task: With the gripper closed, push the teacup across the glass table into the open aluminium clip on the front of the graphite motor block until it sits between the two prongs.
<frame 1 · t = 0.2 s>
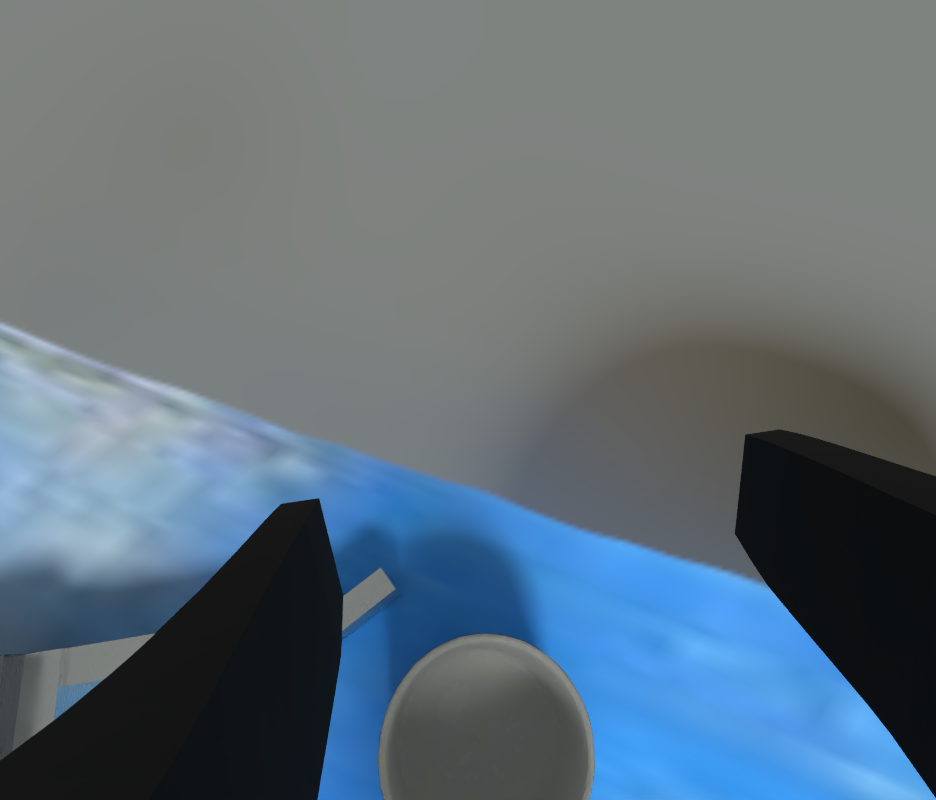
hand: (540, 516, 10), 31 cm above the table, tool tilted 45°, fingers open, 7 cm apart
teacup: (483, 757, 35), on the table
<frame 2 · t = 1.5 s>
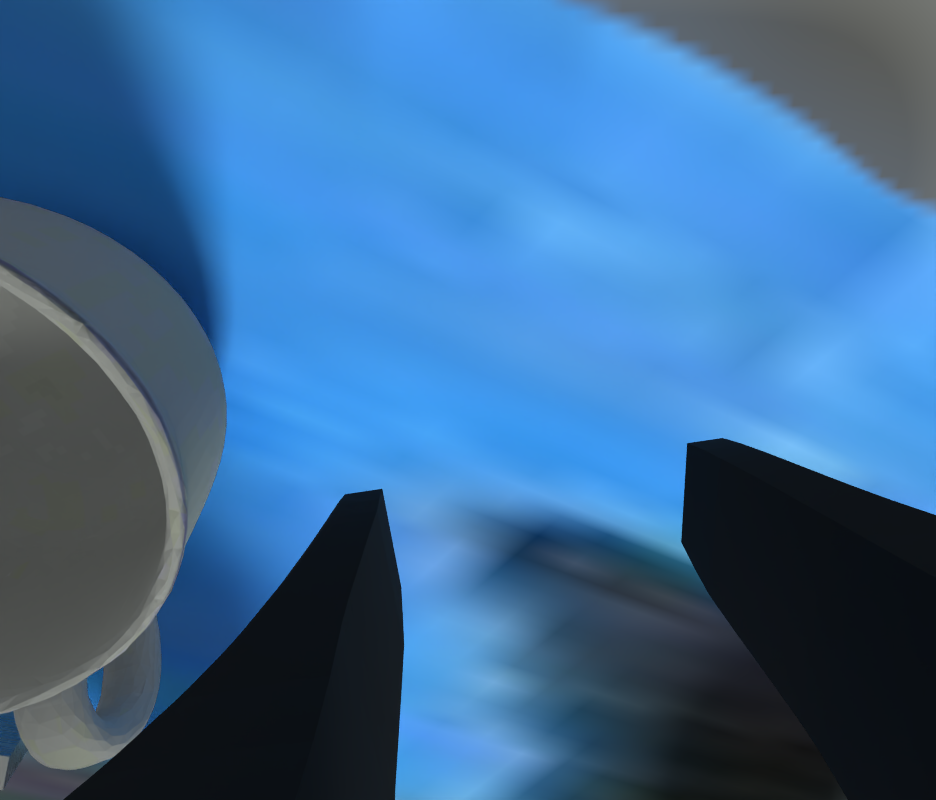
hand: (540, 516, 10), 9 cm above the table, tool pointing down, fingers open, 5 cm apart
teacup: (96, 409, 18), on the table
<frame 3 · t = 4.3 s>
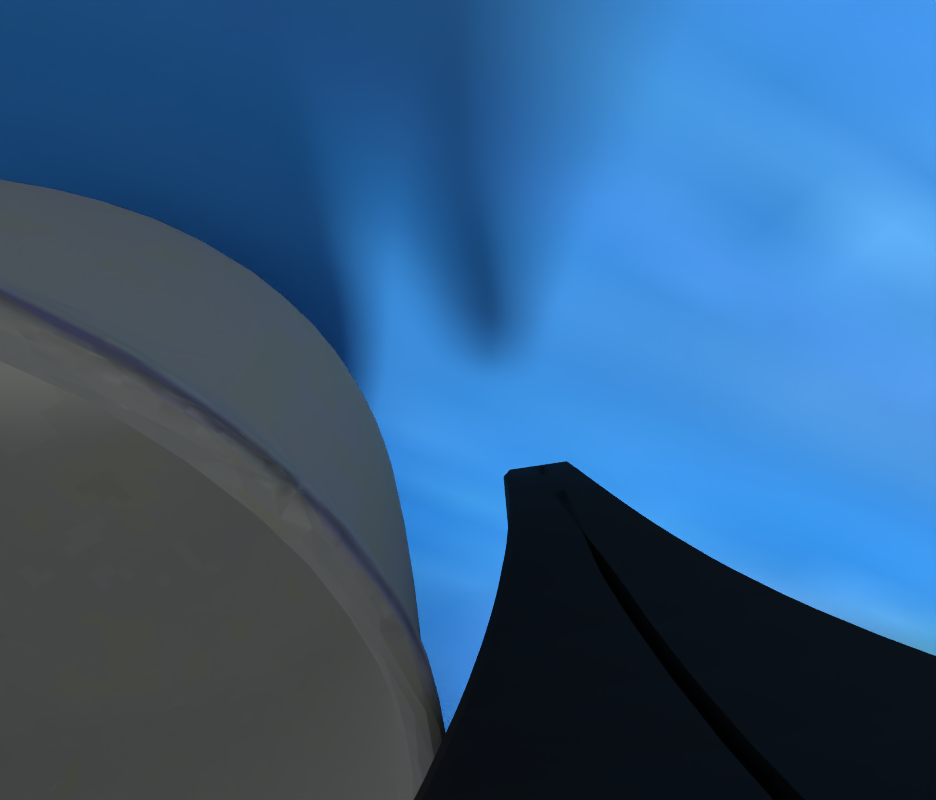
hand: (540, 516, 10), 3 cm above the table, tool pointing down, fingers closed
teacup: (173, 504, 12), on the table, touching gripper
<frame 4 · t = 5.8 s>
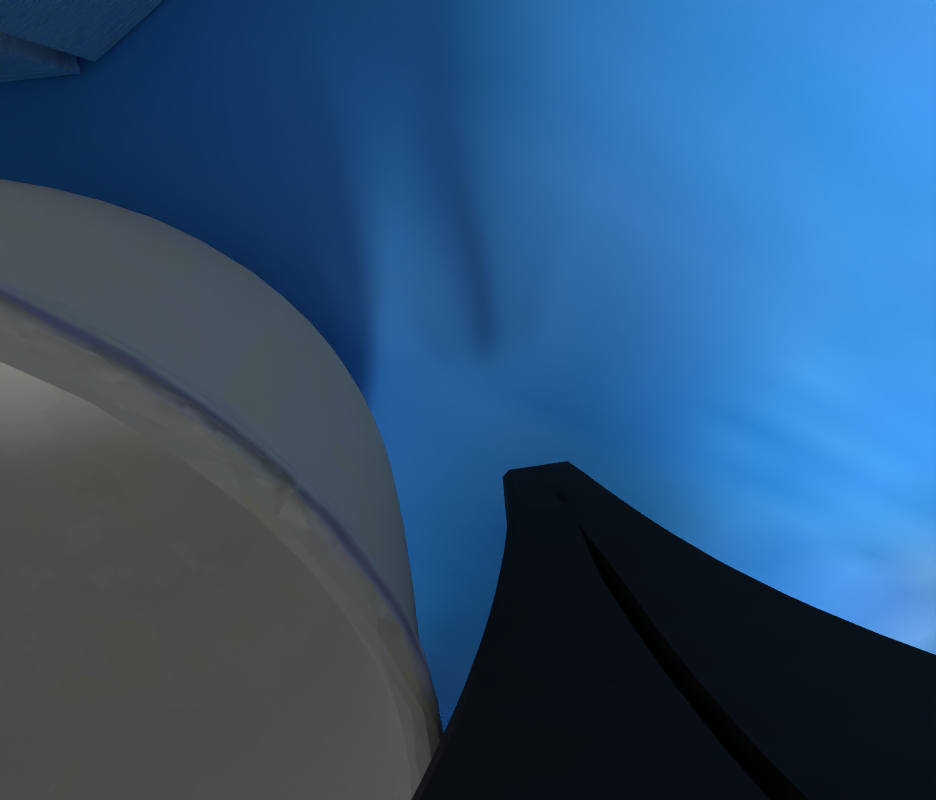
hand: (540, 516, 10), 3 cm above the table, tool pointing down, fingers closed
teacup: (172, 504, 12), on the table, touching gripper
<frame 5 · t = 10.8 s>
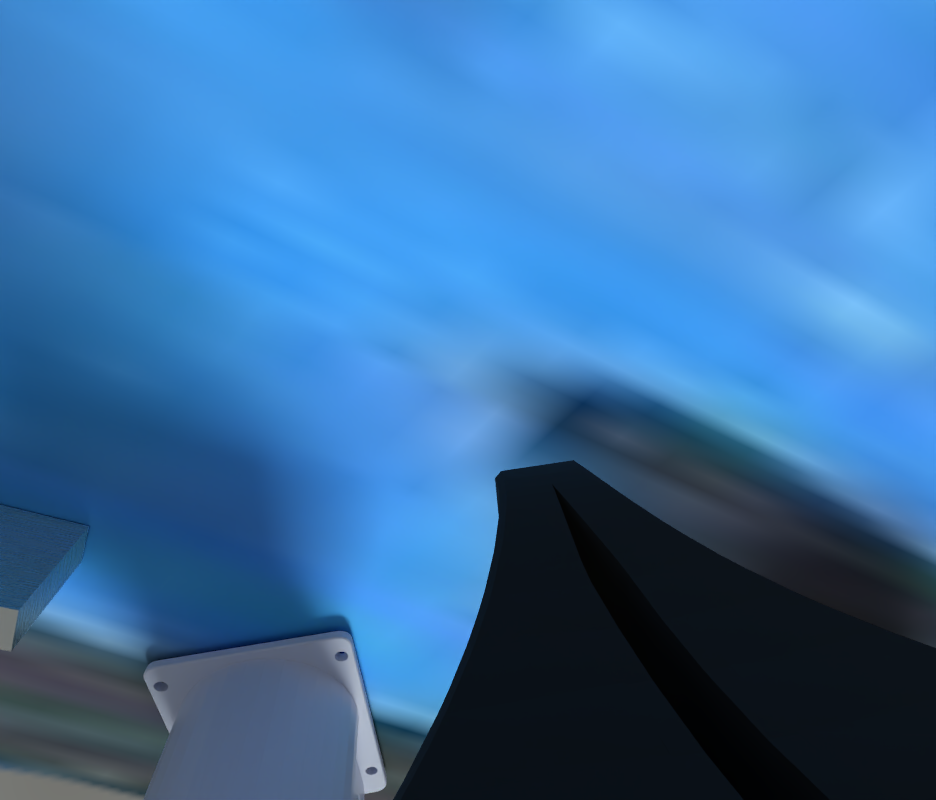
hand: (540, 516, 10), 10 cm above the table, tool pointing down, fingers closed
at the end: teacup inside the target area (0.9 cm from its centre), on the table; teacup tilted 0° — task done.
